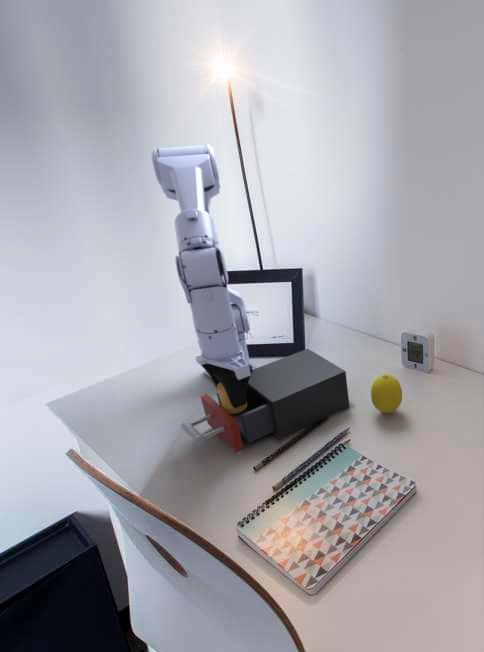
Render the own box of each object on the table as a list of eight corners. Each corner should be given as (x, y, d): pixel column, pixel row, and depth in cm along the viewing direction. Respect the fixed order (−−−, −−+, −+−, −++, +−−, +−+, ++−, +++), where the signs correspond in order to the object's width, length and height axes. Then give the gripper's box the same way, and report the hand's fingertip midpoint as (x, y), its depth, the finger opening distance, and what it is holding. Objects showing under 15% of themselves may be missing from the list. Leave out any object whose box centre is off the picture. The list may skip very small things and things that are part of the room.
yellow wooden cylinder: (218, 407, 89) (212, 384, 87) (240, 398, 91) (235, 375, 89) (228, 416, 86) (223, 393, 84) (251, 407, 89) (246, 384, 86)
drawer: (207, 467, 83) (199, 437, 80) (180, 435, 90) (171, 407, 87) (308, 419, 93) (304, 391, 90) (276, 395, 101) (271, 368, 98)
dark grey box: (279, 440, 90) (272, 402, 86) (245, 410, 98) (237, 375, 94) (349, 406, 98) (345, 371, 95) (312, 381, 106) (307, 348, 103)
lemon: (399, 423, 93) (397, 384, 89) (369, 420, 94) (365, 381, 90) (406, 405, 98) (404, 368, 94) (377, 403, 99) (374, 366, 95)
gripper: (172, 320, 84) (192, 392, 91) (210, 349, 74) (229, 428, 81) (215, 307, 88) (231, 377, 95) (256, 333, 79) (271, 409, 85)
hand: (233, 400), depth 88 cm, fingers closed on yellow wooden cylinder, 4 cm apart
